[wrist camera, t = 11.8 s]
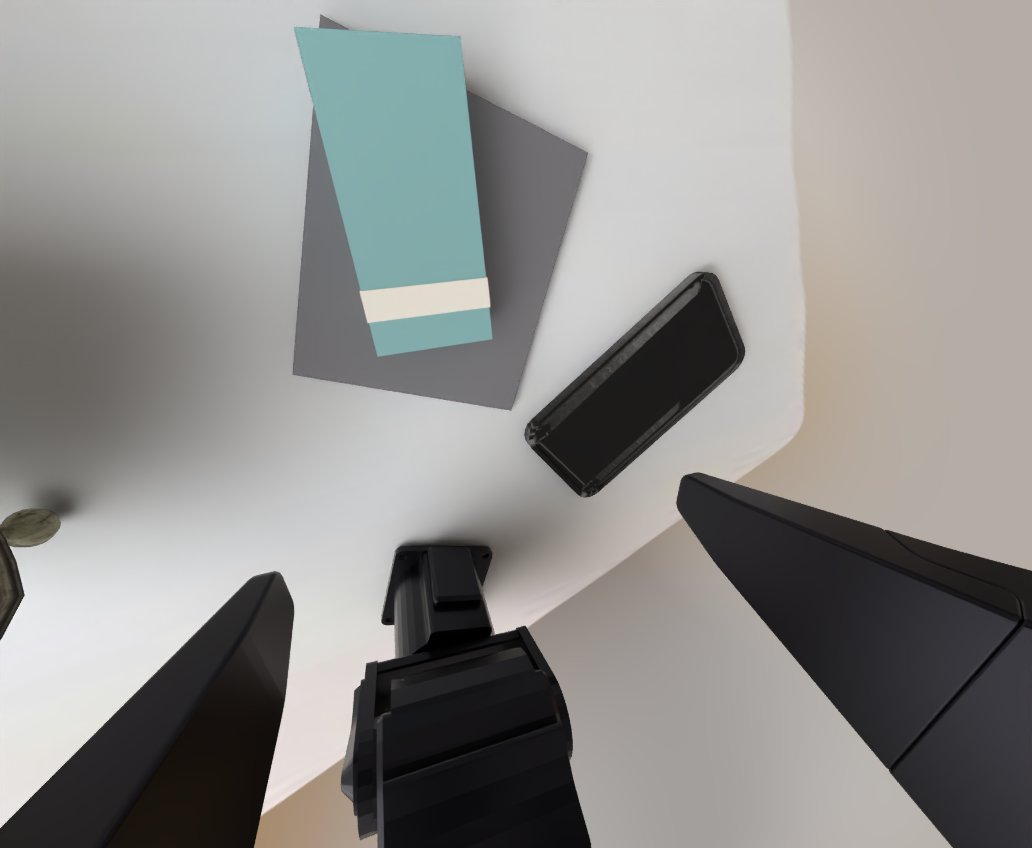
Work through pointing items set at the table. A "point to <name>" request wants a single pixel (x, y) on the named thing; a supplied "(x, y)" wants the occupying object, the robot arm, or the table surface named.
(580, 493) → the phone
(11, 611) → the tabletop clock
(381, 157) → the box
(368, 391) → the table surface
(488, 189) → the felt mat
